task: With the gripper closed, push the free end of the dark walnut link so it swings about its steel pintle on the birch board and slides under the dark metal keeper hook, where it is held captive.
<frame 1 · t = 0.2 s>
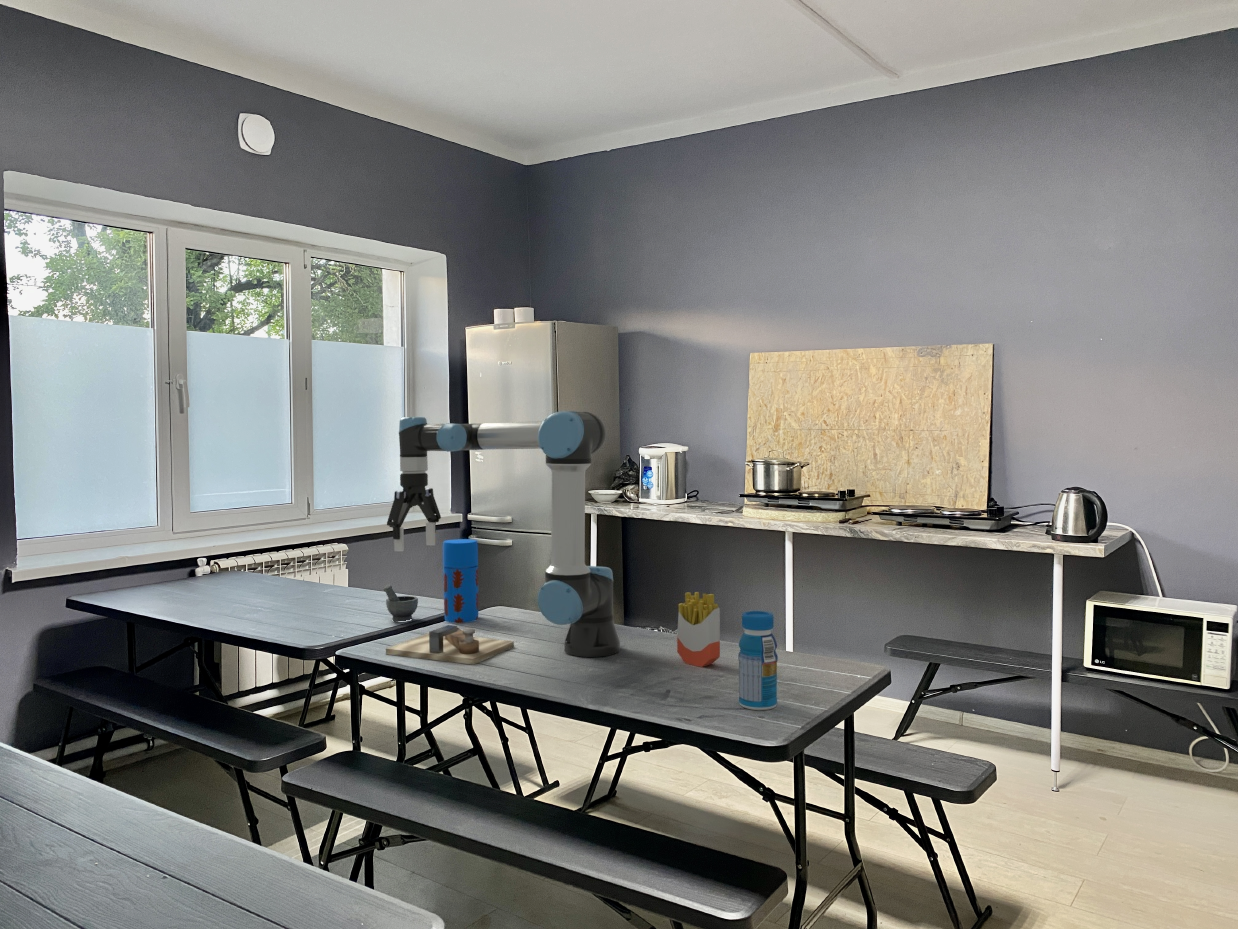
hand: (415, 548, 246), 27 cm above the table, fingers open, 13 cm apart
french fries container: (698, 664, 225), on the table
mortar and pestle: (400, 621, 279), on the table
board: (450, 650, 241), on the table
link: (460, 634, 240), point 5 cm above the table, hinge at -40.0°
thermos: (461, 619, 280), on the table
beverage bottle: (758, 706, 191), on the table
keeper: (444, 654, 236), resting on board
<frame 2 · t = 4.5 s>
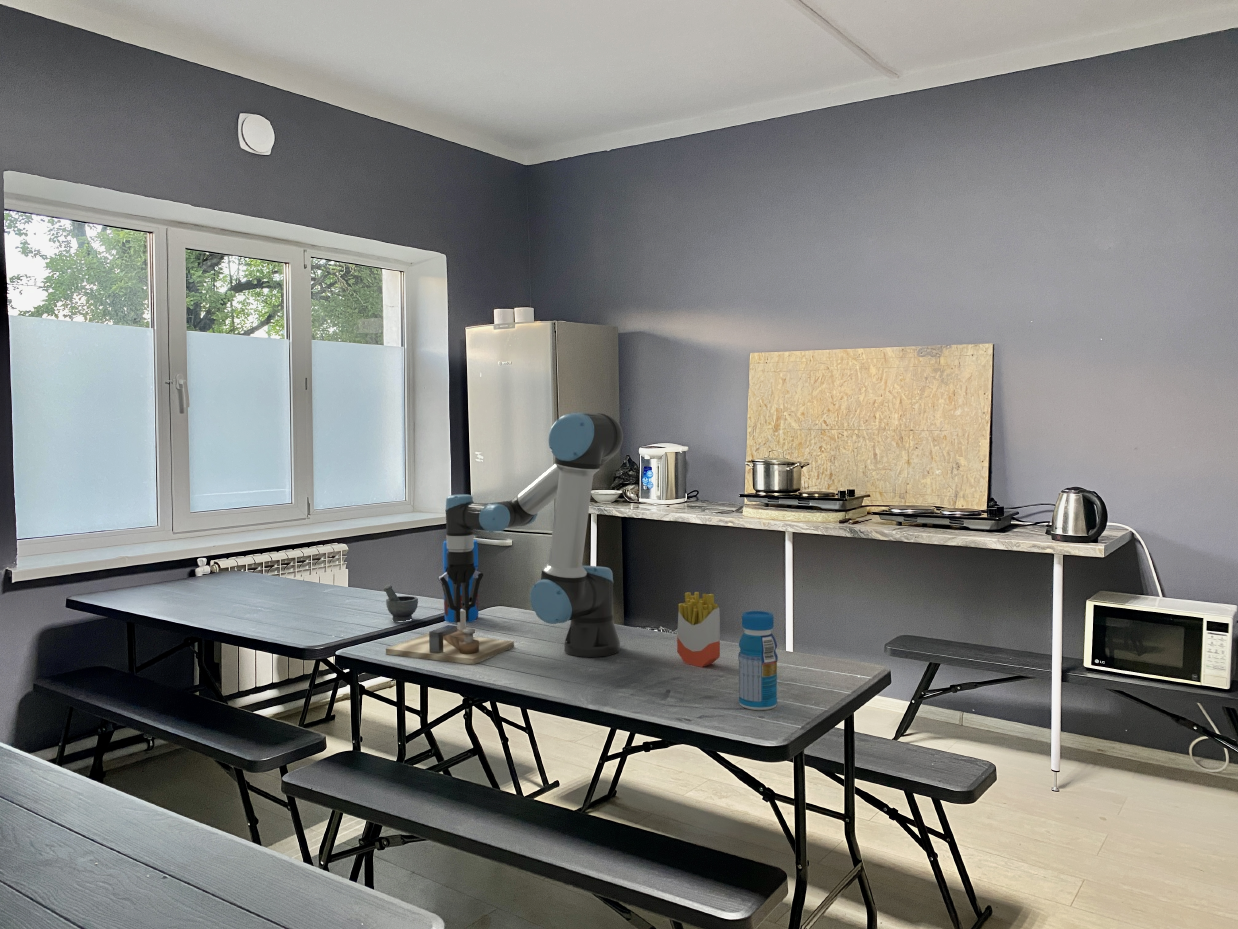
hand: (461, 633, 247), 3 cm above the table, fingers closed
link: (459, 634, 240), point 5 cm above the table, hinge at -38.5°, touching gripper
everything else where it was.
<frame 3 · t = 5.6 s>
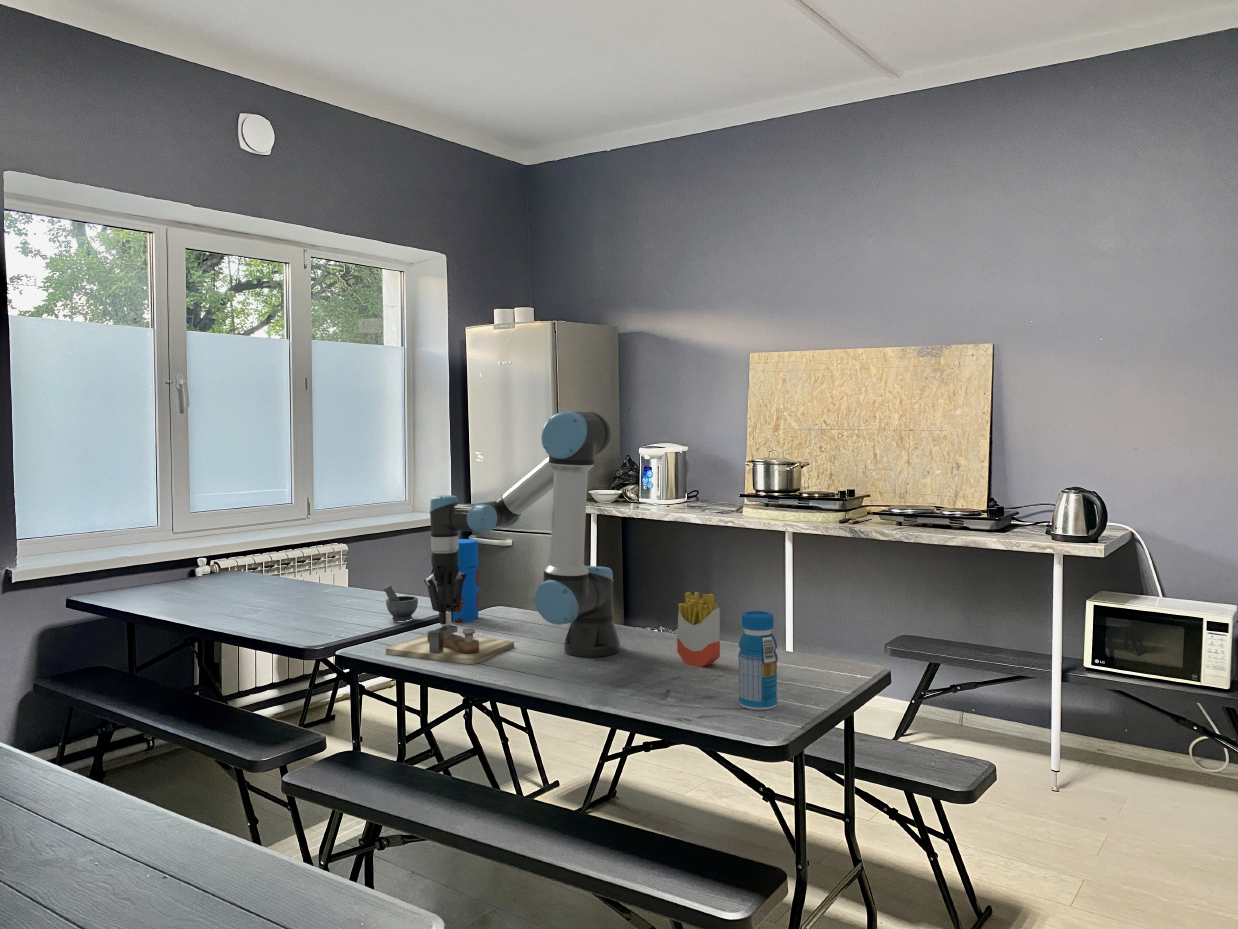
hand: (446, 634, 246), 3 cm above the table, fingers closed
link: (451, 635, 238), point 5 cm above the table, hinge at -22.4°, touching gripper
everything else where it was.
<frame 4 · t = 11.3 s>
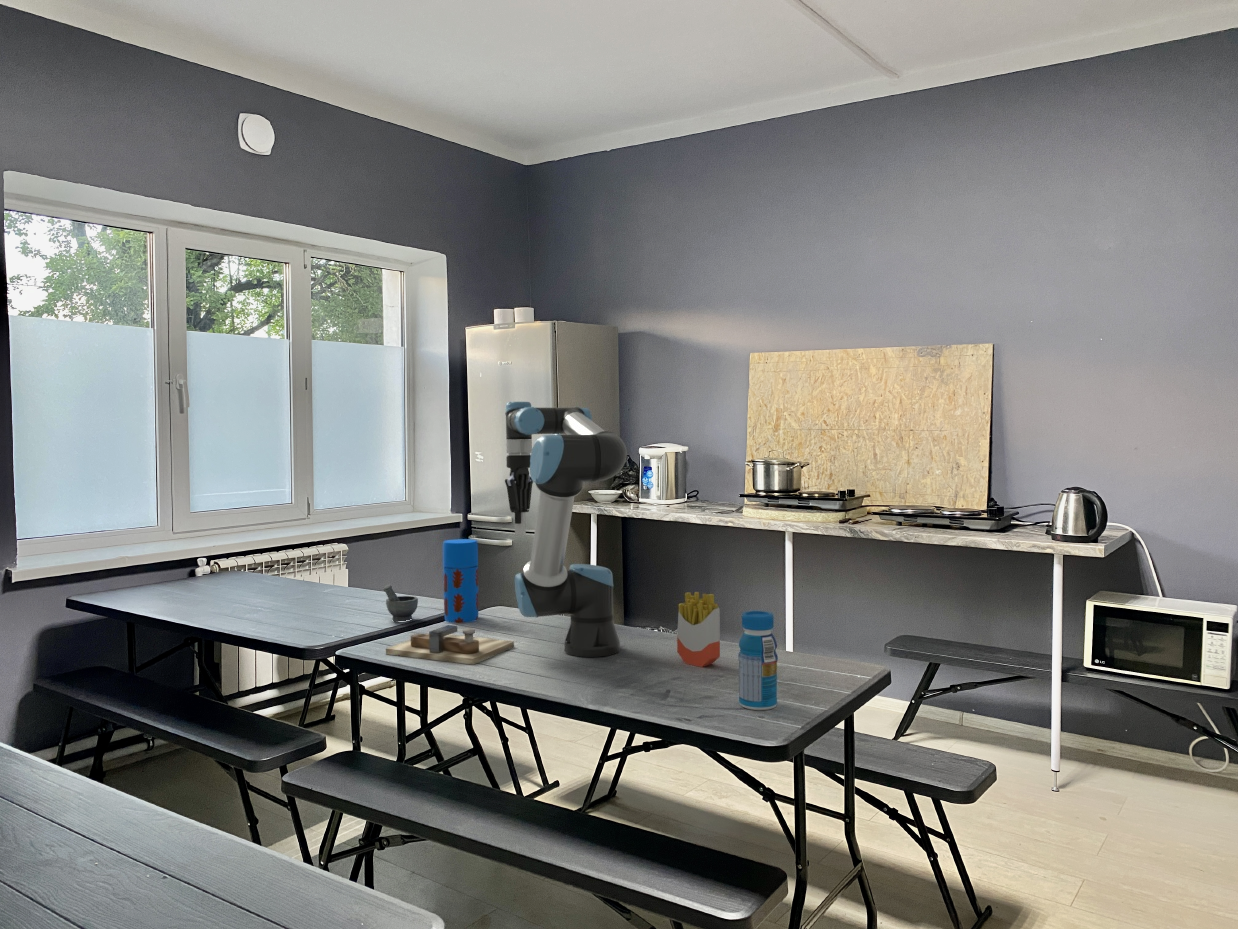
hand: (520, 534, 258), 29 cm above the table, fingers closed
link: (444, 637, 236), point 5 cm above the table, hinge at -2.4°
everything else where it was.
at the end: link at -2° (first picture: -40°) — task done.
